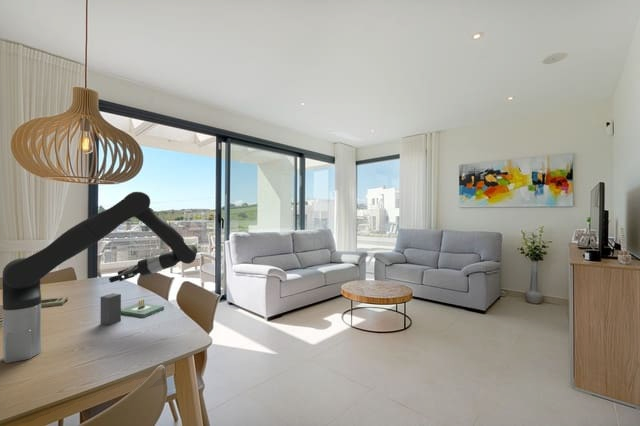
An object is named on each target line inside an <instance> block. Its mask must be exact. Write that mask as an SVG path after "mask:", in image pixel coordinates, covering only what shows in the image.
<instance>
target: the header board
mask: <svg viewBox="0 0 640 426" xmlns="http://www.w3.org/2000/svg"><path fill="white" fill-rule="evenodd" d="M162 309H163V310H164V309H165V306H164V305H158V304H152V303H151V304H149V303H145V299H141V300H139V301H138V303H136V304H132V305H130V306H126V307H123V308H121V315H124V316H130V315H131V316H130V317H137V316H139V317H138V318H143V317H144V318H146V317H149V316H151V315H153V314H152V313H154V314H155V312H156V313H158V312H160V311H159V310H161V311H163V310H162ZM157 311H158V312H157ZM150 314H151V315H150ZM148 315H149V316H148ZM145 316H146V317H145Z"/></svg>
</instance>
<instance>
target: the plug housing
mask: <svg viewBox="0 0 640 426" xmlns="http://www.w3.org/2000/svg"><path fill="white" fill-rule="evenodd" d="M121 309H122V294H120V293H114V292H112V293H109V294H105V295H102V296H100V320H99V321H100V325H105V326H110V325H113V324H116V323H118V322H121V320H122V314H121Z"/></svg>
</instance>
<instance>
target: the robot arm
mask: <svg viewBox="0 0 640 426" xmlns="http://www.w3.org/2000/svg"><path fill="white" fill-rule="evenodd" d="M150 205H151V199H150V196H149V195H148V194H147V193H145V192H143V191H133V192H130V193H129V194H127V195H126V196H125V197H124V198H122V199H121V200H120V201H118V202H117V203H116V204H114V205H113V206H111V207H109V208H108V209H106V210H102V211H100V212H99V213H96V214H95V215H93V216H89V217H88V218H86V219H84V220H82V221H81V222H78V223H77V224H75V225H74V226H72V227H70V228H69V229H67V230H66V231H65V232H63V233H61V235H59V236H58V237H57V238H56V239H55V240H53V241H52V242H51V243H50V244H49V245H47V246H46V247H44V248H43V249H40V250H39V251H37V252H36V253H34V254H31V255H29V256H28V257H21V258H16V259H13V260H11V261H10V262H8V263H7V264H6V265H5V266H4V267H3V270H2V361H3V362H4V363H5V364H9V363H15V362H21V361H25V360H29V359H30V360H31V359H32V358H33V357H35V356H38V355H39V354H40V353H41V352H42V351H41V350H42V307H41V299H42V294H41V291H42V289H41V279H43V278H44V277H45V276H47V275H48V274H49V273H50V272H52V271H53V270H55V269H56V268H57V267H58V266H59V265H61V264H62V263H64V262H65V261H67V260H69V259H72V258H73V257H75V256H77V255H79V254H81V253H82V252H83V251H85V250H87V249H88V248H91V247H92V246H93V245H95V244H96V243H98V242H99V241H101V240H102V239H103V238H105V237H106V236H108V235H109V234H110V233H112V232H113V231H114V230H116V229H117V228H118V227H119V226H120V225H122V224H124V223H125V222H127V221H129V220H130V219H133V217H134V218H136V219H137V220H138V221H140V222H141V223H142V224H144V225H145V226H146V227H147V228H148V229H150V230H151V231H152V232H153V233H154V234H155V235H156V236H157V237H158V238H159V239H161V241H162V242H164V244H166V245H167V246H168V248H170V250H171V251H168V252H165V253H162V254H159V255H154V256H151V257H150V256H149V257H146V258H142V259H141V260H138V261H137V264H134V265H130V266H129V267H127V268H125V269H122V270H121V269H120V270H119V271H117V275H114V276H111V277H110V276H109V278H108V280H109V282H110V283H114V282H117V281H119V282H122V281H125V280H129V279H131V278H134V277H136V276H138V275H141V276H142V277H146V276H149V275H153V274H156V273H158V272H161V271H164V270H166V269H169V268H172V267H175V266H176V265H178V263H179V262H180V263H181V262H182V263H183V264H192V263H194V261H195V260H196V258H197V254H198V249H197V247H196V246H195V245H193V244H187V243H186V242H185V240H184V237H183V236H182V235H181V234H180V233H179V232H178V231H177V230H176V229H175V228H174V227H173V226H172V225H171V224H169V223H167V222H166V221H165V220H163V219H162V218H161V217H159V215H157V214H156V213H155V212H154V211H153V210H152V209H151V208H150V207H151V206H150Z"/></svg>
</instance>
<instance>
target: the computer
mask: <svg viewBox="0 0 640 426" xmlns="http://www.w3.org/2000/svg"><path fill="white" fill-rule="evenodd" d="M68 298H69V297H68V296H60V297H48V298H41V308H48V307H58V306H63V305H65V304H66V303H67V302H68V300H69V299H68Z"/></svg>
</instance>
